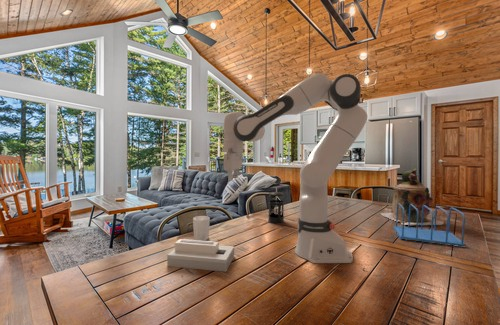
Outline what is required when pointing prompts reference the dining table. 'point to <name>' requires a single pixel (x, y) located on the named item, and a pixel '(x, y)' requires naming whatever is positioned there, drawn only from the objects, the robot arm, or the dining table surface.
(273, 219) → the french press
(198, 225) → the white cup
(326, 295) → the dining table surface
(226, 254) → the mounting board
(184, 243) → the cream rectangular block
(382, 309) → the dining table surface
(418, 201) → the cookie jar
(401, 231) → the file sorter
